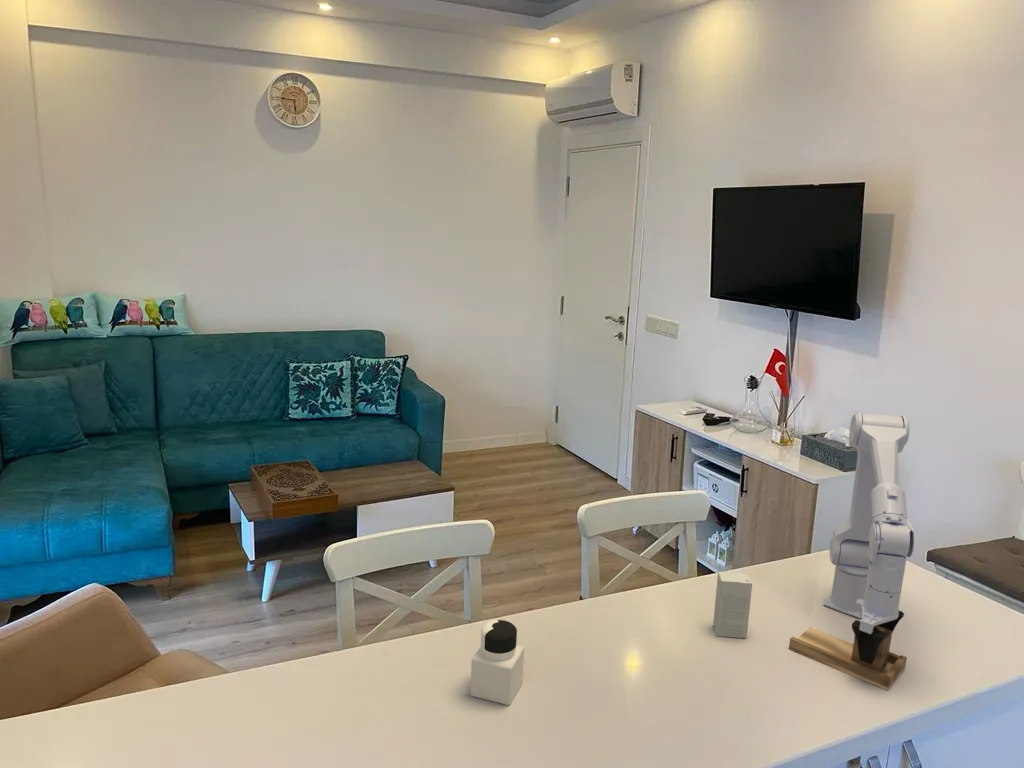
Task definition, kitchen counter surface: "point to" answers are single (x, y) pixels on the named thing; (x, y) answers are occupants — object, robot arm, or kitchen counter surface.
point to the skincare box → (732, 604)
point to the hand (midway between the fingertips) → (873, 653)
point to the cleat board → (845, 657)
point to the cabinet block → (880, 657)
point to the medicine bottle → (497, 663)
